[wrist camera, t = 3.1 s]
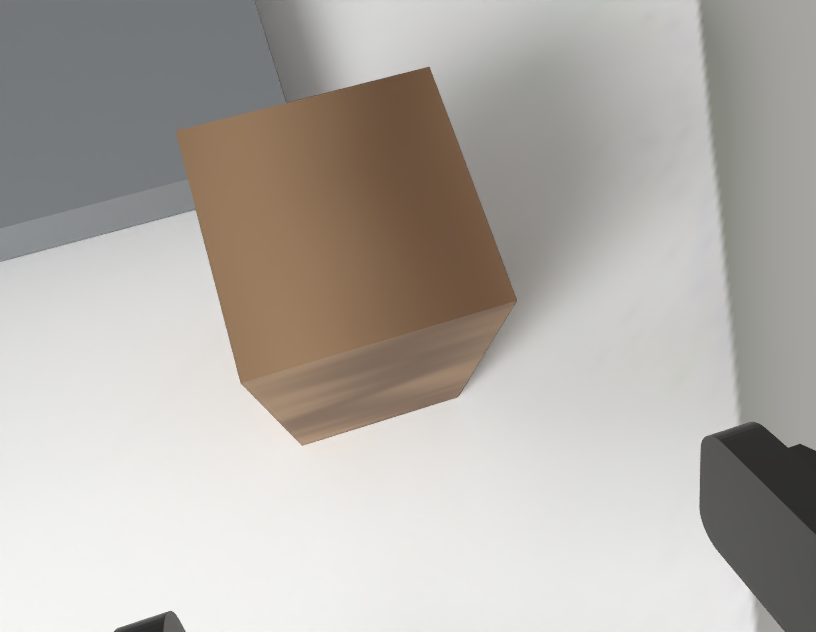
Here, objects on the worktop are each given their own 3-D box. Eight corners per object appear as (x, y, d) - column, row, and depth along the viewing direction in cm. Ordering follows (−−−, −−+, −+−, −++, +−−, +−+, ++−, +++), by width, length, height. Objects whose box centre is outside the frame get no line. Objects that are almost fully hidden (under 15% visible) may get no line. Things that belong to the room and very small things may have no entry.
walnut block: (301, 445, 22) (240, 382, 12) (260, 295, 23) (175, 130, 13) (458, 397, 22) (516, 300, 13) (409, 253, 24) (429, 66, 14)
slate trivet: (-61, 277, 23) (-101, 254, 21) (-106, -24, 26) (-145, -69, 24) (307, 179, 24) (300, 149, 22) (222, -95, 27) (210, -142, 25)
